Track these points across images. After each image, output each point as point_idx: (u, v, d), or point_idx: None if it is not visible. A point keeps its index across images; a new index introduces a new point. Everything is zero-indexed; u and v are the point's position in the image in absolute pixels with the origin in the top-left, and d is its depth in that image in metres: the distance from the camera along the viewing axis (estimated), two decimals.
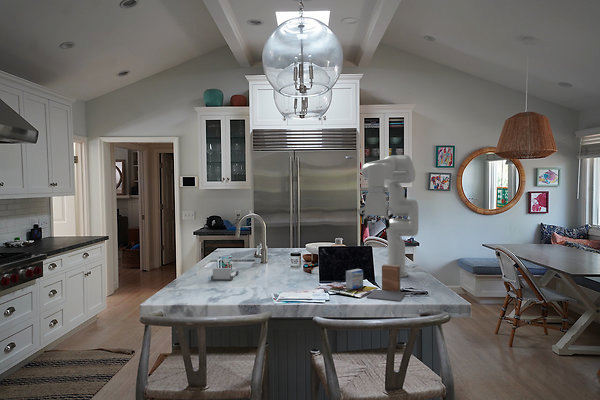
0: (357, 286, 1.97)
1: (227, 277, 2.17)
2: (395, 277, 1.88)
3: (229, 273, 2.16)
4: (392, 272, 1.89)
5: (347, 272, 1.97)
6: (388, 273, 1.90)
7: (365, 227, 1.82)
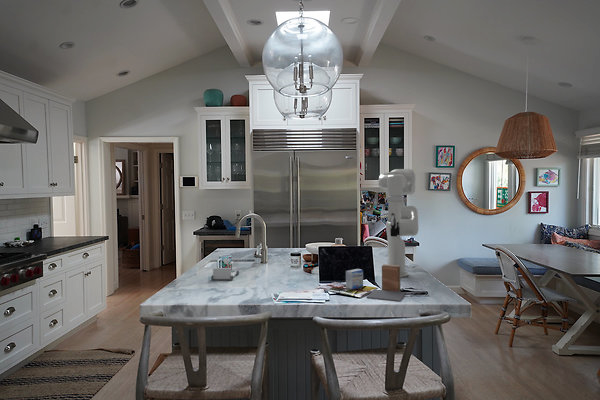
0: (357, 286, 1.97)
1: (227, 277, 2.17)
2: (395, 277, 1.88)
3: (229, 273, 2.16)
4: (392, 272, 1.89)
5: (347, 272, 1.97)
6: (388, 273, 1.90)
7: (397, 235, 1.96)
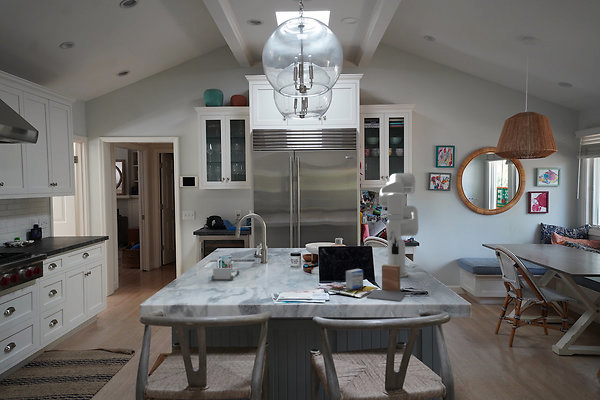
0: (357, 286, 1.97)
1: (227, 277, 2.17)
2: (395, 277, 1.88)
3: (229, 273, 2.17)
4: (392, 272, 1.89)
5: (347, 272, 1.97)
6: (388, 273, 1.90)
7: (398, 253, 1.99)
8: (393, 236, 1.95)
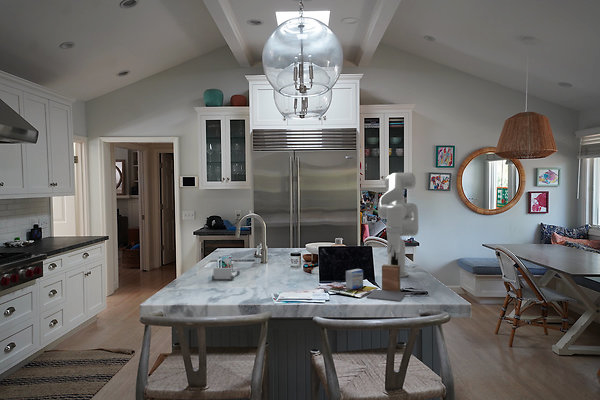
0: (357, 286, 1.97)
1: (228, 277, 2.17)
2: (395, 277, 1.88)
3: (230, 273, 2.17)
4: (392, 272, 1.89)
5: (347, 272, 1.97)
6: (388, 273, 1.90)
7: None
8: (392, 249, 1.94)
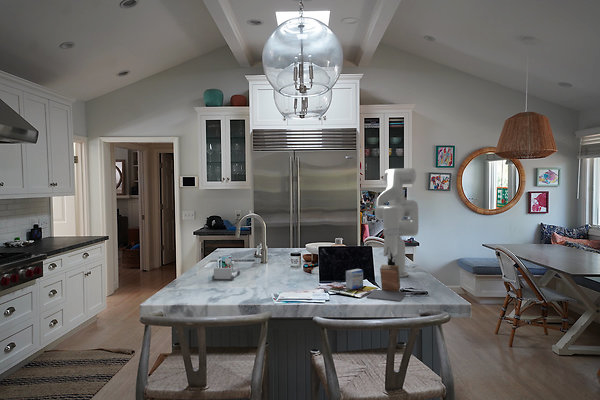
0: (357, 286, 1.97)
1: (228, 277, 2.17)
2: (394, 279, 1.86)
3: (230, 273, 2.17)
4: (391, 274, 1.86)
5: (347, 272, 1.97)
6: (387, 275, 1.87)
7: None
8: (389, 252, 1.87)
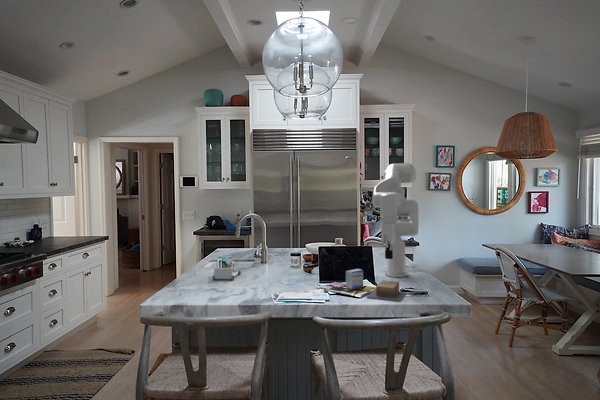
0: (357, 286, 1.97)
1: (228, 277, 2.17)
2: None
3: (230, 273, 2.17)
4: None
5: (347, 272, 1.97)
6: None
7: (392, 258, 1.86)
8: (386, 240, 1.82)
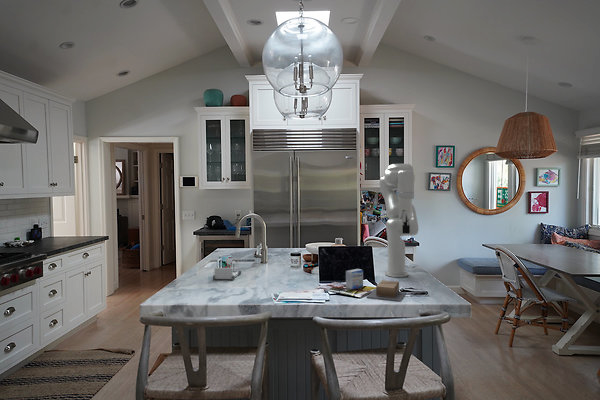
0: (357, 286, 1.97)
1: (229, 277, 2.17)
2: None
3: (231, 273, 2.17)
4: None
5: (347, 272, 1.97)
6: None
7: (409, 232, 1.93)
8: (404, 214, 1.90)
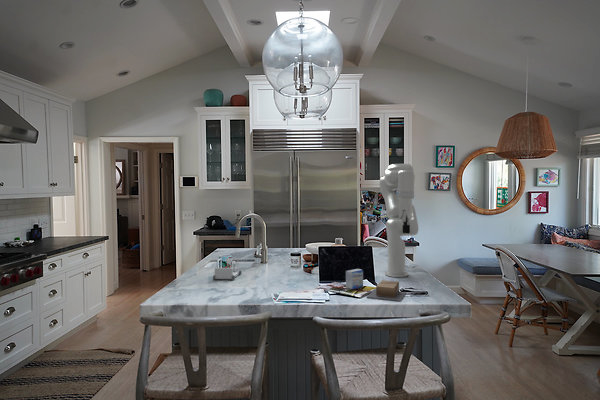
0: (357, 286, 1.97)
1: (229, 277, 2.17)
2: None
3: (231, 273, 2.17)
4: None
5: (347, 272, 1.97)
6: None
7: (409, 232, 1.93)
8: (404, 214, 1.90)
